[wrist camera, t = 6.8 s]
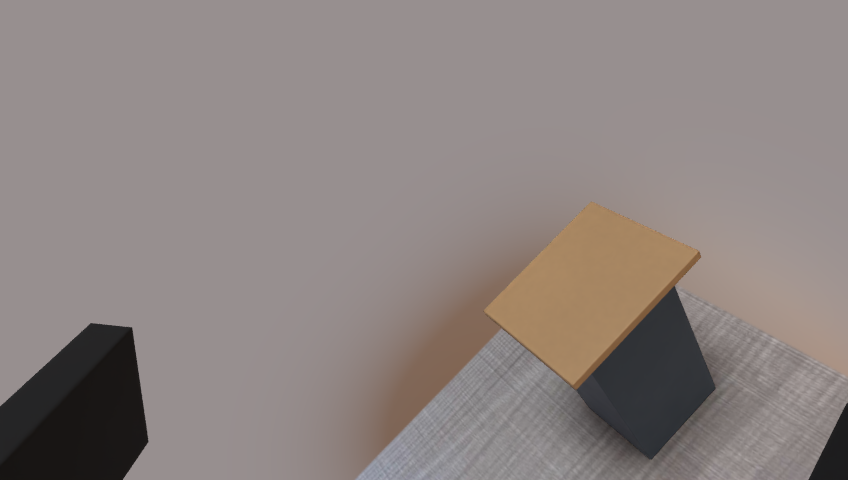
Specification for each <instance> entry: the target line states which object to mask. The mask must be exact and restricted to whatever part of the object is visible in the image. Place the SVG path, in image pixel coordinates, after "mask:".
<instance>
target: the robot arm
mask: <svg viewBox="0 0 848 480" xmlns="http://www.w3.org/2000/svg"><path fill="white" fill-rule="evenodd" d="M136 359H137V358H136V352H135V345H134V338H133V331H132V328H131V327H122V326H112V325H102V324H93V323H91V324H90V325H89V326H87V328H85V329H84V330H83V331H82V332H81V333H80V334H79V335H78V336H77V337H75V338H74V339H73V340H72V341H71V342H70V343H69V344H68V345H67V346H66V347H65V348H63V349H62V350H61V351H60V352H59V353H58V354H57V355H56V356H55V357H54V358H53V359H51V360H50V362H48V363H47V364H46V365H45V366H44V367H43V368H42V369H41V370H39V372H38V373H36V374H35V375H34V376H33V377H32V378H31V379H30V380H29V381H27V382H26V383H25V384H24V385H23V386H22V387H21V388H20V389H19V390H18V391H17V392H16V393H14V394H13V395H12V396H11V397H10V398H9V399H8V400H7V401H6V402H5V403H4V404H2V405H1V406H0V480H123V478H124V477H125V475H126V474H127V472H128V471H129V470H130V468H131V467H132V465H133V464H134V462H135V461H136V459H137V458H138V456H139V455H140V453H141V452H142V450H143V449H144V447H145V446H146V445H147V443H148V436H147V428H146V421H145V415H144V407H143V400H142V394H141V387H140V380H139V373H138V365H137V360H136ZM809 480H848V403H847V404H846V406H845V408H844V410H843V412H842V414H841V416H840V418H839V420H838V422H837V424H836V426H835V428H834V430H833V432H832V434H831V436H830V438H829V440H828V442H827V444H826V446H825V448H824V450H823V452H822V454H821V456H820V458H819V460H818V462H817V464H816V466H815V468H814V470H813V472H812V474H811V476H810V478H809Z"/></svg>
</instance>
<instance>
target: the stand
mask: <svg viewBox="0 0 848 480" xmlns="http://www.w3.org/2000/svg"><path fill="white" fill-rule="evenodd" d="M700 258H701V255H700V252H699V251H698V250H696V249H693V248H691V247H689V246H687V245H685V244H683V243H680V242H678V241H676V240H674V239H672V238H669V237H667V236H665V235H663V234H661V233H659V232H656V231H654V230H652V229H650V228H648V227H646V226H644V225H641V224H639V223H637V222H635V221H633V220H630V219H628V218H626V217H624V216H622V215H620V214H617V213H615V212H613V211H611V210H609V209H606V208H604V207H602V206H600V205H598V204H596V203H594V202H590V203H589V204H588V205H587V206H586V207H585V208H584V209H583V210H582V211H581V212H580V213H579V214H578V215H577V217H576V218H574V219H573V220H572V221H571V223H569V224H568V225H567V226H566V228H565V229H564V230H563V231H562V232H561V233H560V234H559V235H558V236H557V237H556V238H555V239H554V240H553V241H552V242H551V243H550V244H549V245H548V246H547V247H546V248H545V249H544V250H543V251H542V252H541V253H540V254H539V255H538V256H537V257H536V258H535V259H534V260H533V261H532V262H531V263H530V264H529V265H528V266H527V267H526V268H525V269H524V270H523V271H522V272H521V273H520V274H519V275H518V276H517V277H516V278H515V279H514V280H513V281H512V282H511V283H510V284H509V285H508V287H506V288H505V289H504V290H503V292H502V293H500V295H499V296H498V297H497V298H496V299H495V300H494V301H493V302H492V303H491V304H490V305H489V306H488V307H487V308H486V309H485V310H484V313H485V314H486V315H487V316H488V317H489V318H490V319H492V320H493V321H494V322H495V323H496V324H498V325H499V326H500V327H501V328H502V329H503V330H505V331H506V332H507V333H508V334H509V335H511V336H512V337H513V338H514V339H515V340H517V341H518V342H519V343H520V344H521V345H522V346H524V347H525V348H526V349H527V350H528V351H530V352H531V353H532V354H533V355H534V356H536V357H537V358H538V359H539V360H540V361H541V362H543V363H544V364H545V365H546V366H547V367H549V368H550V369H551V370H552V371H553V372H555V373H556V374H557V375H558V376H559V377H561V378H562V379H563V380H564V381H565V382H566V383H568V384H569V385H570V386H571V387H572V388H574V389H575V390H576V391H577V392H578V393H579V394H580V396H581V397H582V398H583V400H584V401H585V402H586V404H587V405H588V406H589V408H590V409H592V410H593V411H594V412H595V413H596V414H597V415H599V416H600V417H601V418H602V419H603V420H604V421H606V422H607V423H608V424H609V425H610V426H612V427H613V428H614V429H615V430H616V431H617V432H619V433H620V434H621V435H622V436H623V437H624V438H626V439H627V440H628V441H629V442H630V443H631V444H633V445H634V446H635V447H636V448H637V449H639V450H640V451H641V452H642V453H643V454H644V455H646V456H647V457H648V458H649V459H652V458H653V457H654V456H655V454H656V453H657V452H658V451H659V450H660V449H661V448H662V447H663V446H664V445H665V443H666V442H667V441H668V440H669V439H670V438H671V437H672V436H673V435H674V433H675V432H676V431H677V430H678V429H679V428H680V427H681V426H682V425H683V424H684V422H685V421H686V420H687V419H688V418H689V417H690V416H691V415H692V414H693V412H694V411H695V410H696V409H697V408H698V407H699V406H700V405H701V404H702V402H703V401H704V400H705V399H706V398H707V397H708V396H709V395H710V394H711V393H712V391H713V390H714V389H715V385H714V383H713V380H712V378H711V375H710V373H709V370H708V368H707V365H706V363H705V360H704V358H703V355H702V353H701V351H700V348H699V346H698V343H697V341H696V338H695V336H694V333H693V331H692V328H691V326H690V323H689V321H688V318H687V316H686V313H685V311H684V308H683V306H682V303H681V301H680V298H679V296H678V293H677V291H676V289H675V284H676V283H677V282H678V281H679V280H680V279H681V278H682V277H683V276H684V275H685V274H686V273H687V272H688V271H689V270H690V269H691V267H692V266H693V265H694V264H695V263H696V262H697V261H698V260H699V259H700Z"/></svg>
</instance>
